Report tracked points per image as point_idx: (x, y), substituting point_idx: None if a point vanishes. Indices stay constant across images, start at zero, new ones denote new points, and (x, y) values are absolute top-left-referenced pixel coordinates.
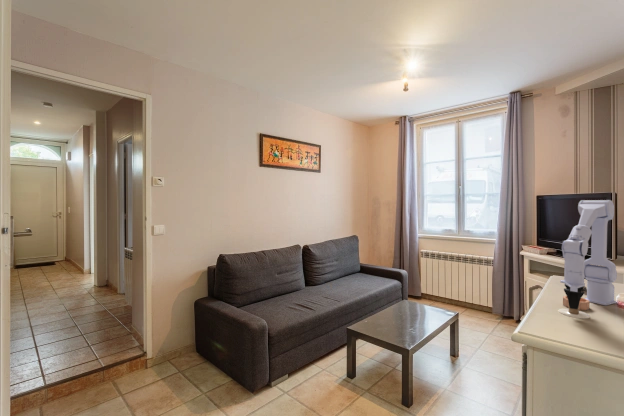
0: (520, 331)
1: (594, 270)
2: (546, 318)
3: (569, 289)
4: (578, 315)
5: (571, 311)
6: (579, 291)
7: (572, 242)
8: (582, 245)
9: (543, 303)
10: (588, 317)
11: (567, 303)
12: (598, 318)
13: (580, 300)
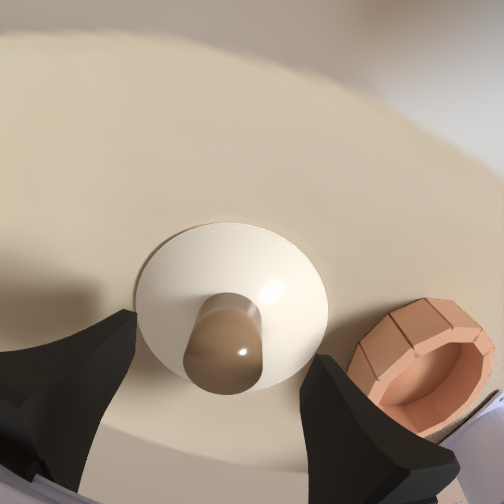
0: None
1: None
2: (28, 119)
3: (18, 443)
4: (183, 334)
5: (200, 312)
6: (313, 498)
7: None
8: None
9: (419, 158)
10: (176, 374)
11: (396, 329)
12: (202, 410)
13: (447, 400)
